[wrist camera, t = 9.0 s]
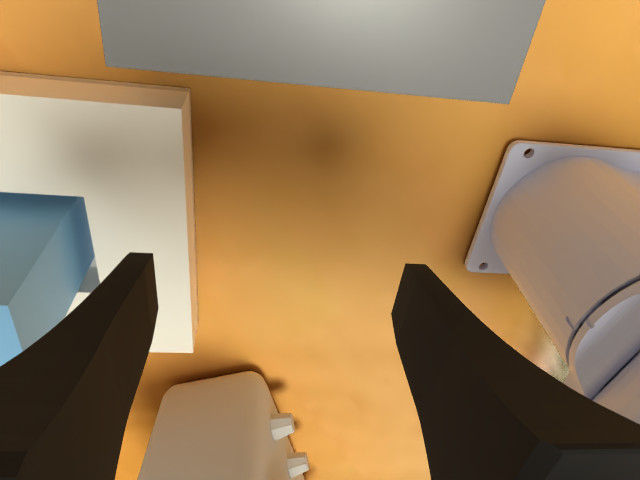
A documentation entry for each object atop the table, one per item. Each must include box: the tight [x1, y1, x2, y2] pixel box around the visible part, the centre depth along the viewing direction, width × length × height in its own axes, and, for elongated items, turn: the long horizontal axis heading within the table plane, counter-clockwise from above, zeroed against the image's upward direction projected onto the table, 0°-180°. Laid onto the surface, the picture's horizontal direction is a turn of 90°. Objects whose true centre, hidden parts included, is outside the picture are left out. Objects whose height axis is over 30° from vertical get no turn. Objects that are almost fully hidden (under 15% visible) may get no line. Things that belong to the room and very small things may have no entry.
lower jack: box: [0, 71, 199, 353], centre depth 23 cm, size 14×14×2 cm
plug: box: [0, 192, 95, 366], centre depth 20 cm, size 4×5×8 cm
